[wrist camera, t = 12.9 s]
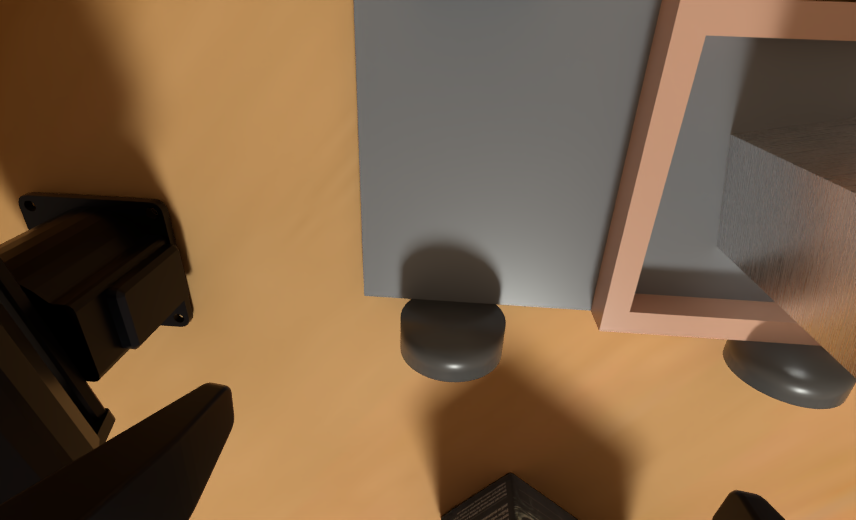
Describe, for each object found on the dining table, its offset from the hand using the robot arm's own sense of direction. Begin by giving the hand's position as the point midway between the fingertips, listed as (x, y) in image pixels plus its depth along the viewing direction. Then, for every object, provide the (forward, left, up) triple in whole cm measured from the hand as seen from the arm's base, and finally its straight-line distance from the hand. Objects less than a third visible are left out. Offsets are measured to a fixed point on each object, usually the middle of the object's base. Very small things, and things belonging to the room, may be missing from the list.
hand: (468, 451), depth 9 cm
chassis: (+7, +2, -13) cm, 15 cm away
